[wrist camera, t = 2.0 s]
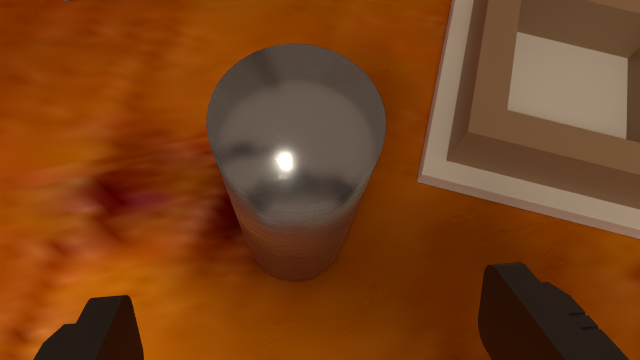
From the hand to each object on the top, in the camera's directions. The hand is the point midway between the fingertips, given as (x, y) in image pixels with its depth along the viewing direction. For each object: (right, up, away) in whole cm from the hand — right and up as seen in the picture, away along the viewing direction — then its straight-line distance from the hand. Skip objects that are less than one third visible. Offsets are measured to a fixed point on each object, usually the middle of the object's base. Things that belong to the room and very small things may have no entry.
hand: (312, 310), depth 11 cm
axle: (-1, +1, +11) cm, 11 cm away
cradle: (+12, +7, +14) cm, 20 cm away
